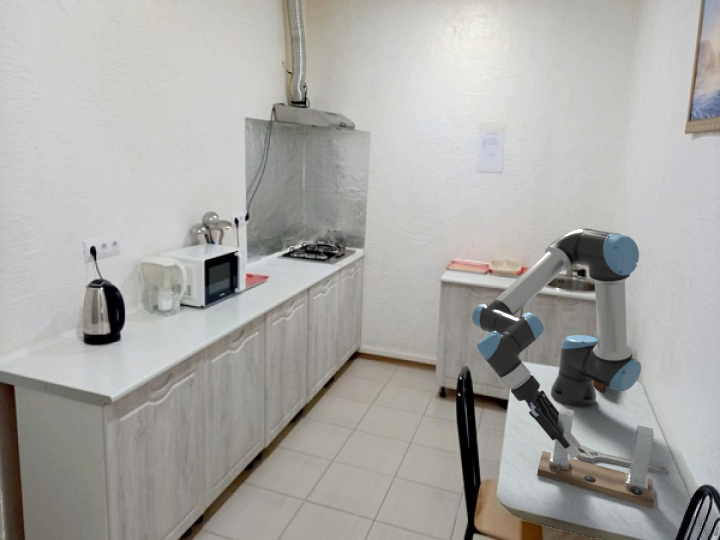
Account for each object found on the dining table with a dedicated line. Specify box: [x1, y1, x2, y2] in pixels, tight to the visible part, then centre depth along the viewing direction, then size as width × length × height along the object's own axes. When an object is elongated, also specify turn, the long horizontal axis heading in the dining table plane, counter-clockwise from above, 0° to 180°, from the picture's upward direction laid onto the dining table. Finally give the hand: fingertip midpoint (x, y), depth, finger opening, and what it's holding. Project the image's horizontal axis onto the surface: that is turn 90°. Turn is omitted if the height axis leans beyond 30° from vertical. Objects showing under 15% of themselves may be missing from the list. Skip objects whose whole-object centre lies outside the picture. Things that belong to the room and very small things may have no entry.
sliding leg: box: [549, 407, 575, 471], centre depth 144 cm, size 7×5×16 cm
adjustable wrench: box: [575, 444, 669, 475], centre depth 151 cm, size 25×6×2 cm, turn 66°
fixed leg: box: [625, 424, 655, 493], centre depth 136 cm, size 7×5×16 cm
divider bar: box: [536, 450, 655, 509], centre depth 143 cm, size 10×28×2 cm, turn 64°
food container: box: [593, 380, 608, 393], centre depth 201 cm, size 12×6×10 cm, turn 149°
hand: (576, 451), depth 143 cm, fingers closed on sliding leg, 3 cm apart
